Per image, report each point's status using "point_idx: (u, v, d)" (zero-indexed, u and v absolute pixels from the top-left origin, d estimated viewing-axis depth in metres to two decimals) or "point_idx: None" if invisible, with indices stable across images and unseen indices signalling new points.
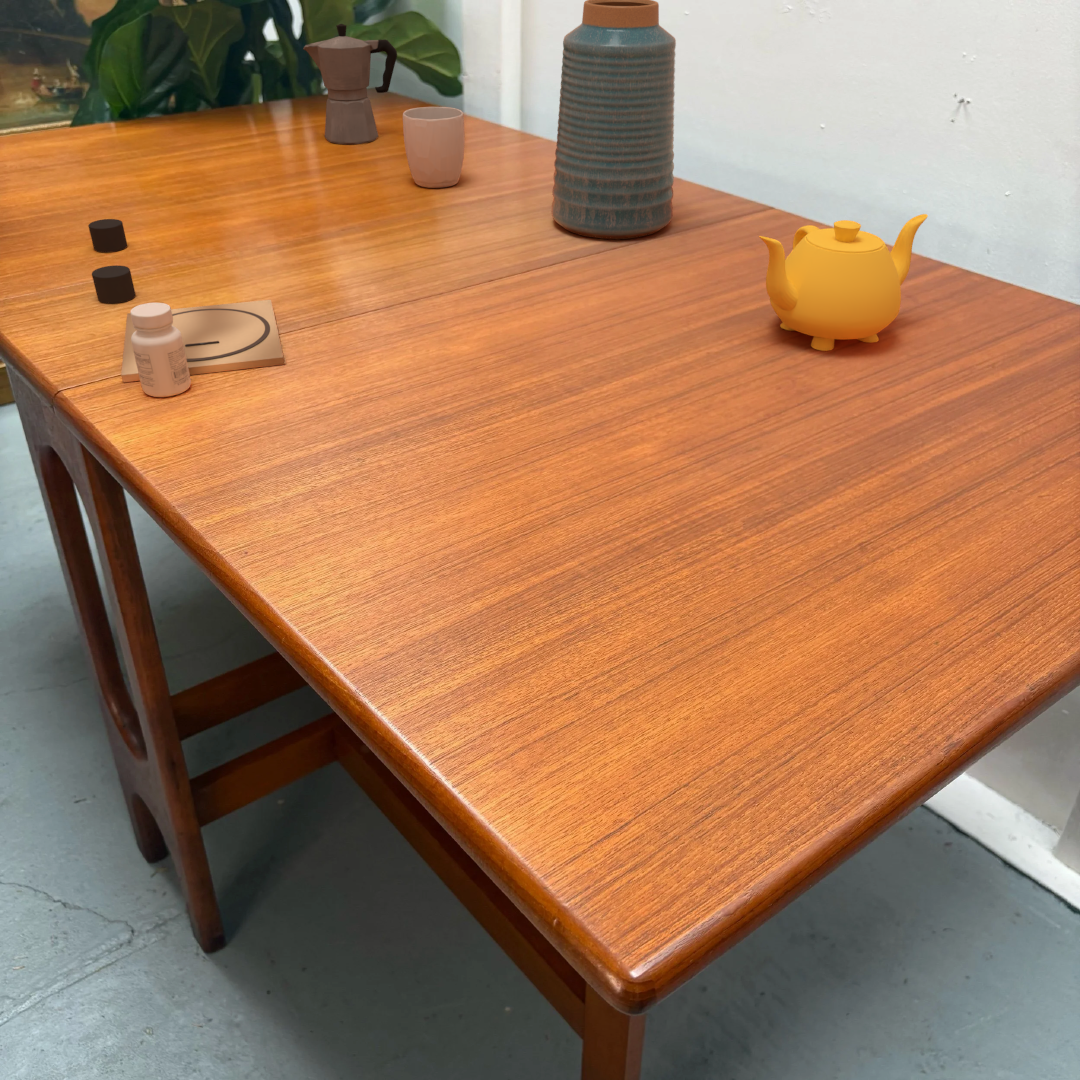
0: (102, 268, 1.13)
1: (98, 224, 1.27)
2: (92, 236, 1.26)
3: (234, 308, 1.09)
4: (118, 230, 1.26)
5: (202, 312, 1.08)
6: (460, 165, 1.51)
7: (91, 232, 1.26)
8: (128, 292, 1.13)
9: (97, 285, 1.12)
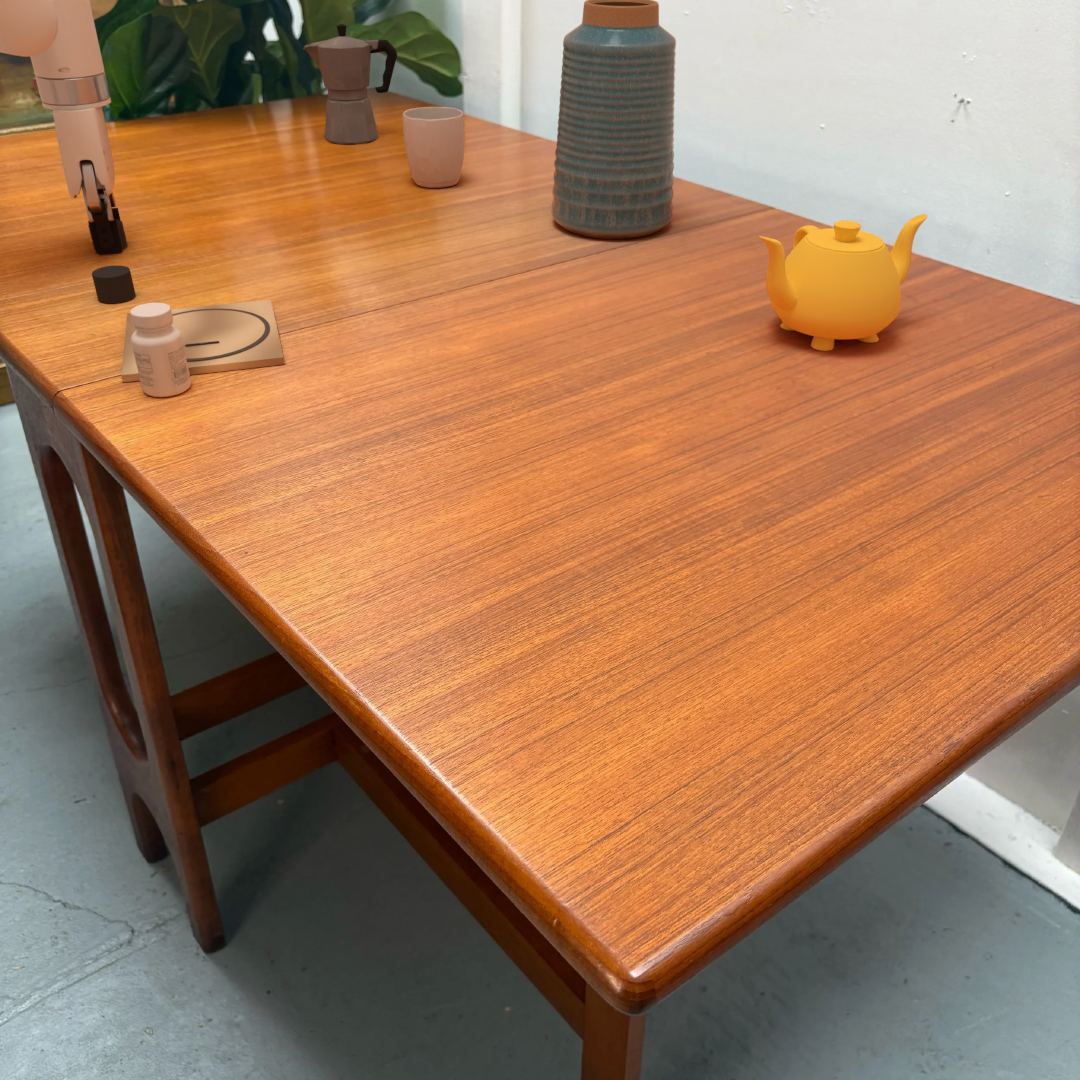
0: (102, 268, 1.13)
1: None
2: None
3: (234, 308, 1.09)
4: None
5: (202, 312, 1.08)
6: (460, 165, 1.51)
7: None
8: (128, 292, 1.13)
9: (97, 285, 1.12)
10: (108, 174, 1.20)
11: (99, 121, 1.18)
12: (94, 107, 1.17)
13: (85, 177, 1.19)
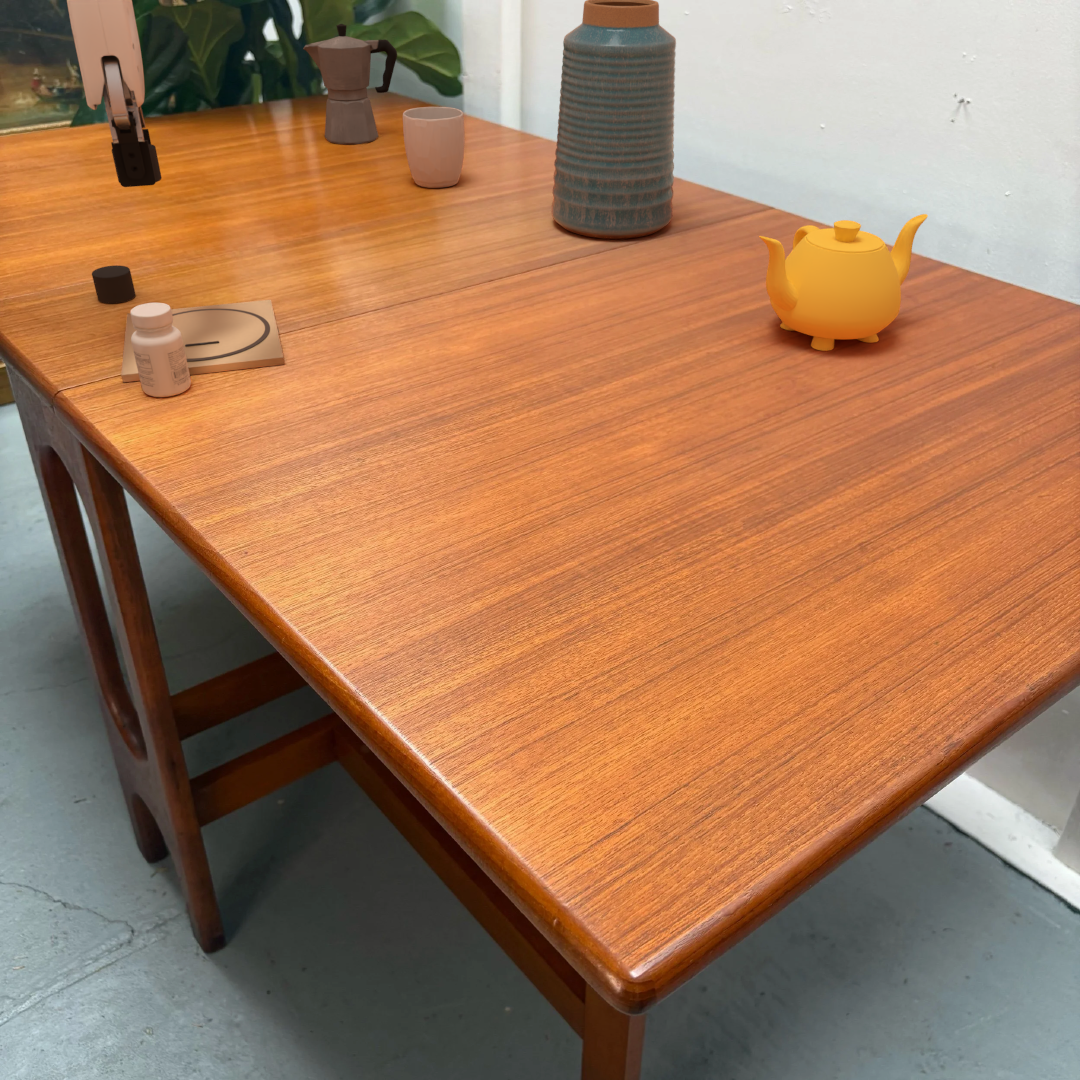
0: (102, 268, 1.13)
1: None
2: None
3: (234, 308, 1.09)
4: None
5: (202, 312, 1.08)
6: (460, 165, 1.51)
7: None
8: (128, 292, 1.13)
9: (97, 285, 1.12)
10: (139, 77, 0.91)
11: (127, 4, 0.89)
12: None
13: (109, 79, 0.89)
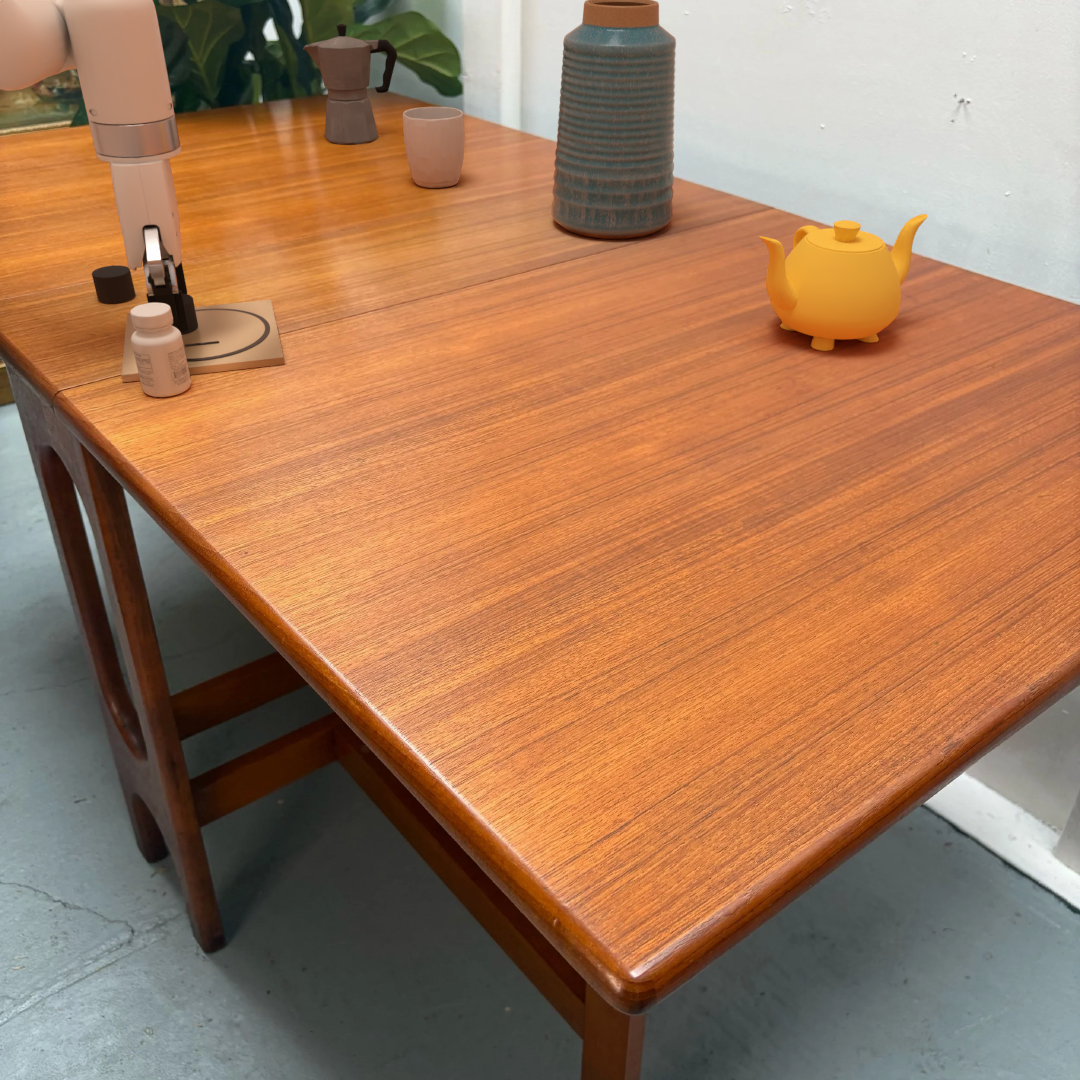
0: (102, 268, 1.13)
1: None
2: None
3: (234, 308, 1.09)
4: (188, 309, 1.03)
5: (202, 312, 1.08)
6: (460, 165, 1.51)
7: None
8: (128, 292, 1.13)
9: (97, 285, 1.12)
10: (177, 241, 0.96)
11: (167, 176, 0.94)
12: (162, 159, 0.93)
13: (147, 236, 0.94)
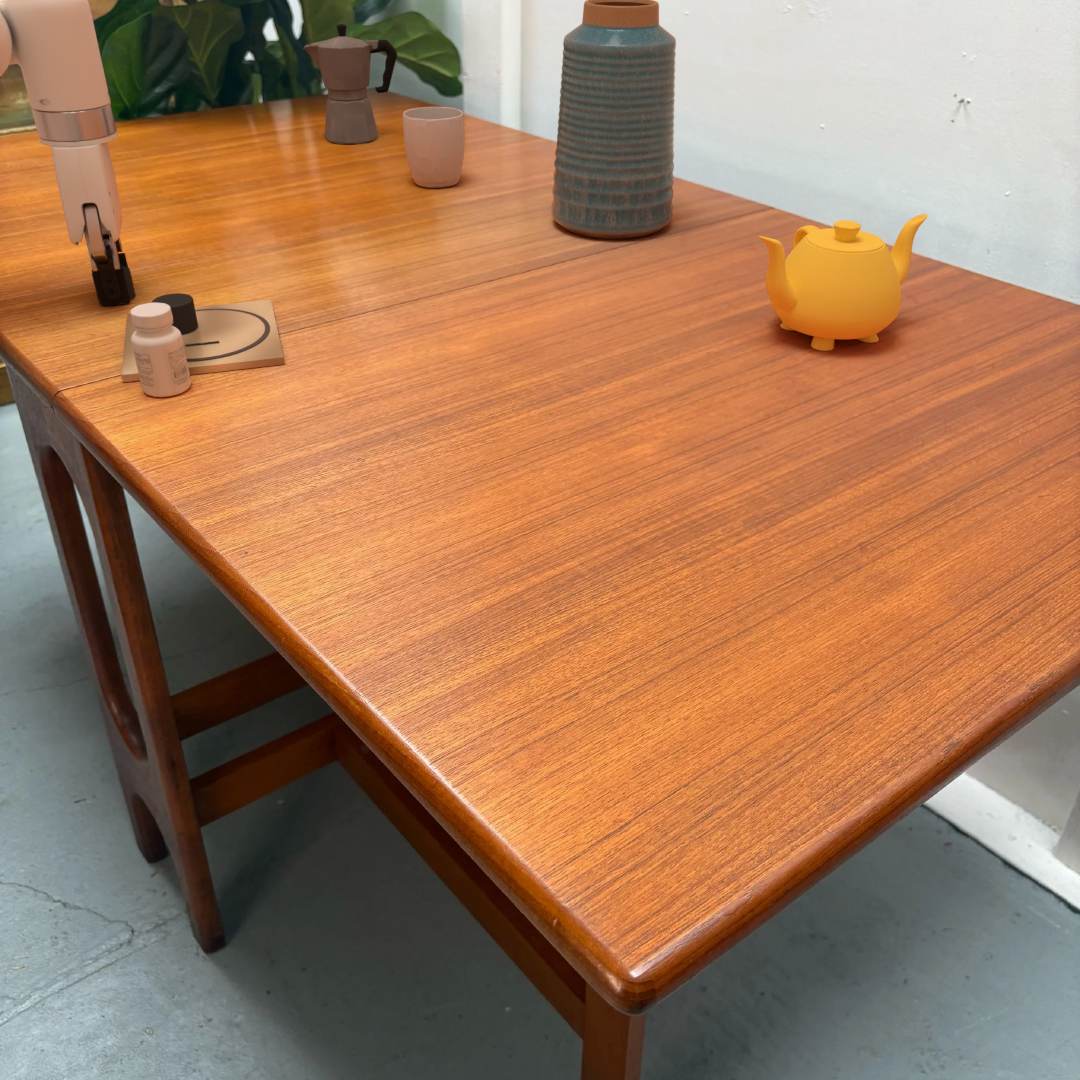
0: None
1: (164, 300, 1.03)
2: None
3: (234, 308, 1.09)
4: (188, 309, 1.03)
5: (202, 312, 1.08)
6: (460, 165, 1.51)
7: None
8: None
9: None
10: (114, 218, 1.06)
11: (104, 159, 1.04)
12: (99, 143, 1.03)
13: (88, 222, 1.04)
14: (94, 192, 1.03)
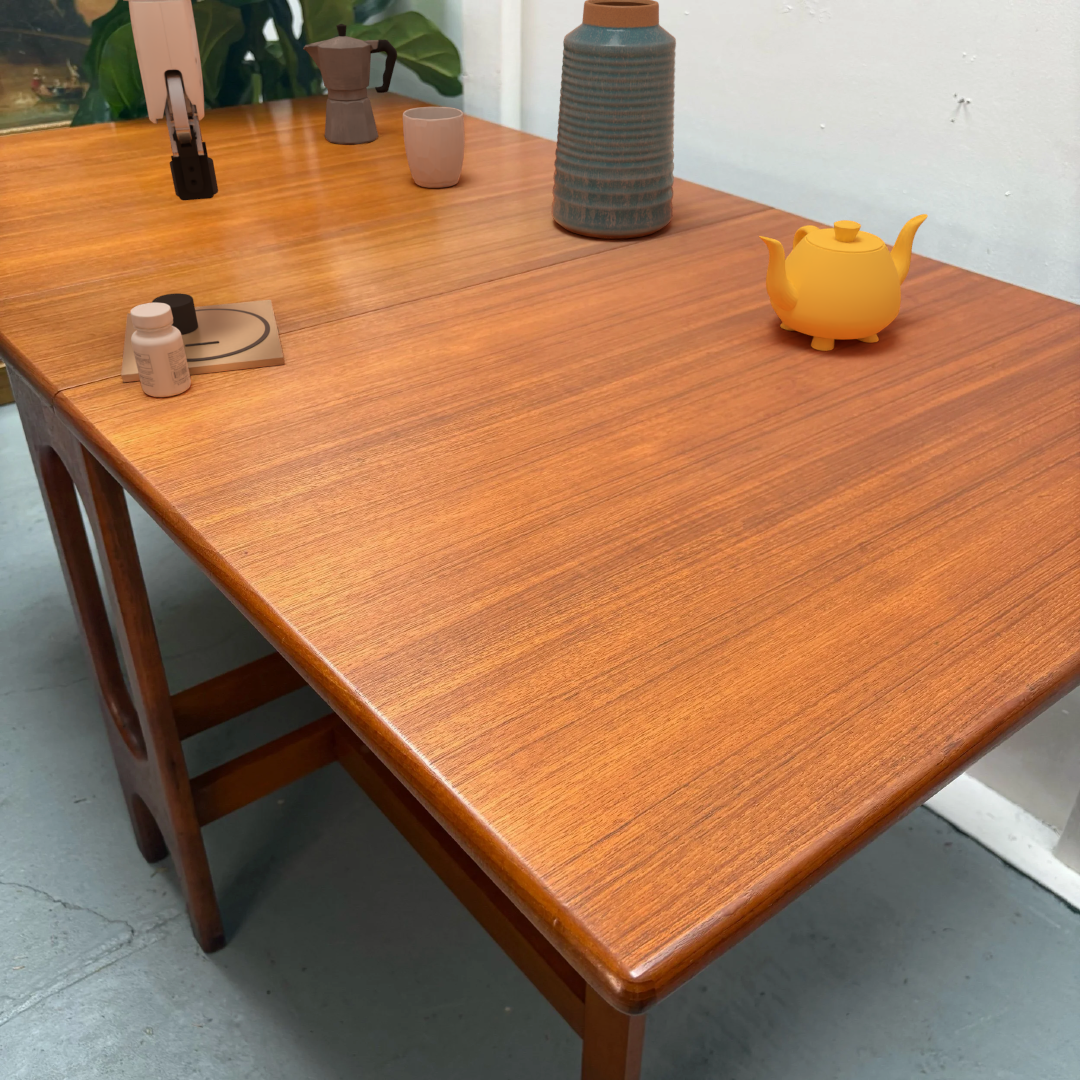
0: None
1: (164, 300, 1.03)
2: None
3: (234, 308, 1.09)
4: (188, 309, 1.03)
5: (202, 312, 1.08)
6: (460, 165, 1.51)
7: None
8: None
9: None
10: (200, 91, 0.91)
11: (190, 18, 0.89)
12: None
13: (171, 94, 0.89)
14: (179, 57, 0.88)
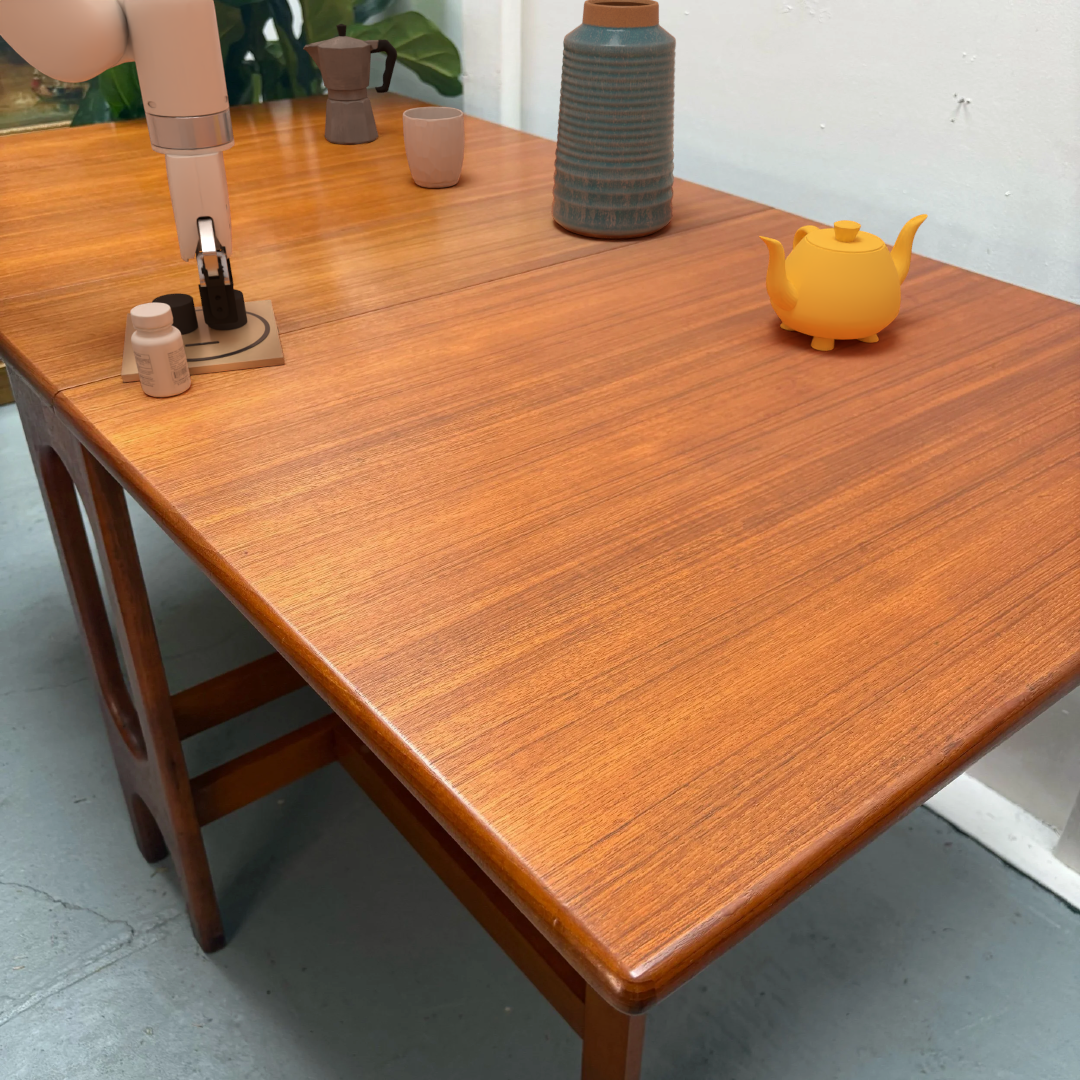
0: None
1: (164, 300, 1.03)
2: None
3: None
4: (188, 309, 1.03)
5: (202, 312, 1.08)
6: (460, 165, 1.51)
7: None
8: (241, 317, 1.05)
9: None
10: (230, 233, 0.97)
11: (222, 168, 0.95)
12: (217, 151, 0.94)
13: (201, 228, 0.94)
14: (211, 205, 0.95)
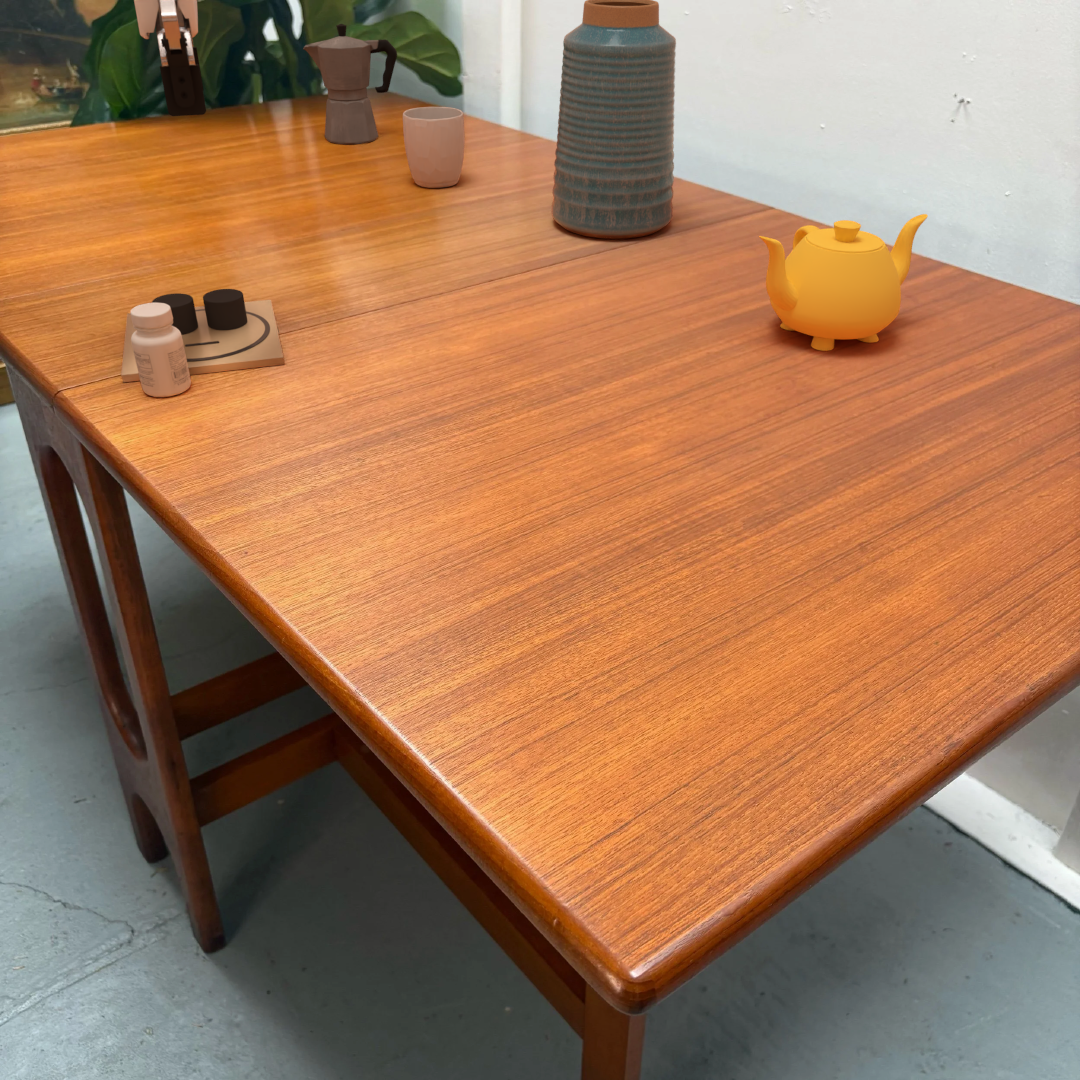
0: (213, 292, 1.05)
1: (164, 300, 1.03)
2: None
3: None
4: (188, 309, 1.03)
5: (202, 312, 1.08)
6: (460, 165, 1.51)
7: None
8: (241, 317, 1.05)
9: (209, 310, 1.03)
10: (194, 4, 0.86)
11: None
12: None
13: None
14: None
